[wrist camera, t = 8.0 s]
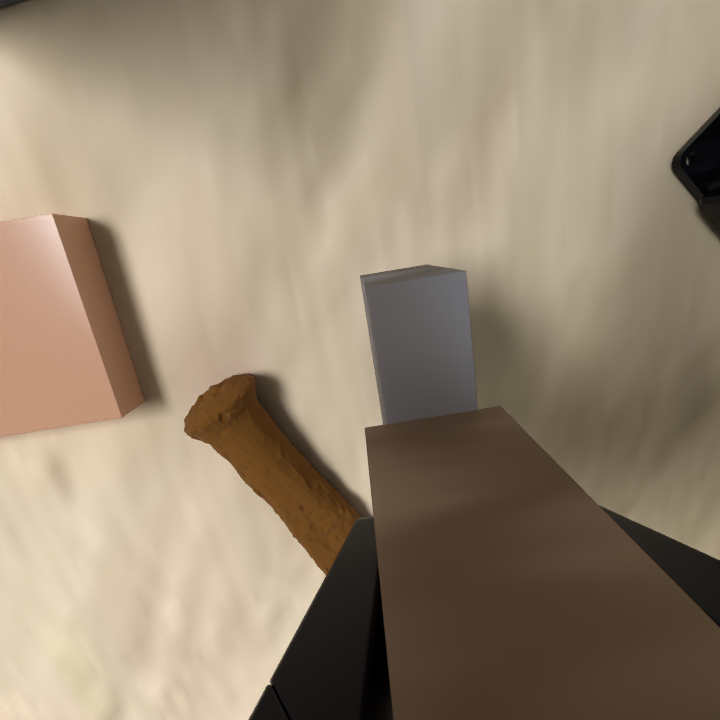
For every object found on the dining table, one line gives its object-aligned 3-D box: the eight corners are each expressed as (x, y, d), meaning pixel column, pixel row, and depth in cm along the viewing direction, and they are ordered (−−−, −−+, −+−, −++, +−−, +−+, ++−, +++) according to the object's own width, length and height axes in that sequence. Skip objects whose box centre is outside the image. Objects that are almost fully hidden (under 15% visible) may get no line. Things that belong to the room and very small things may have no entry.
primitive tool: (467, 614, 23) (488, 678, 19) (389, 658, 23) (396, 727, 20) (251, 354, 18) (229, 378, 15) (163, 419, 19) (123, 456, 15)
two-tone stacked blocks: (443, 261, 12) (914, 312, 2) (468, 517, 14) (735, 1103, 4) (343, 278, 12) (324, 404, 2) (385, 530, 14) (469, 1139, 4)
